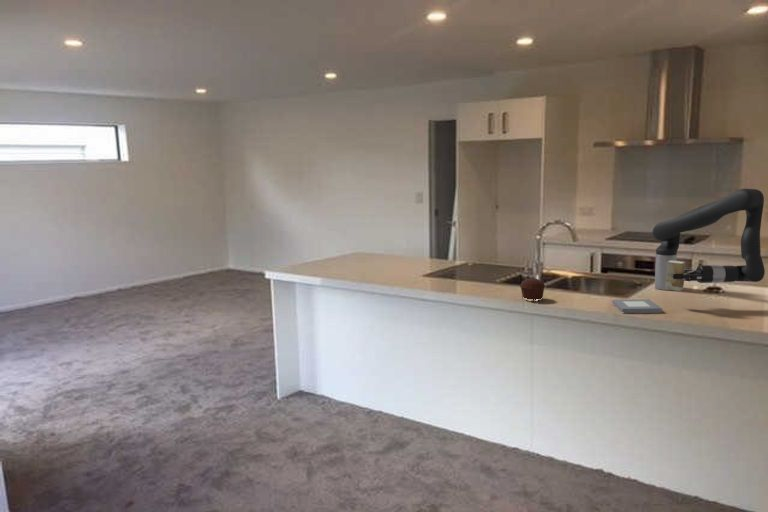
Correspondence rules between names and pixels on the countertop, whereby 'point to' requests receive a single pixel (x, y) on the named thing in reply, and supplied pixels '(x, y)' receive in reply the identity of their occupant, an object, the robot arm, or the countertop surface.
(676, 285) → the skincare box
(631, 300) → the plate
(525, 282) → the muffin
